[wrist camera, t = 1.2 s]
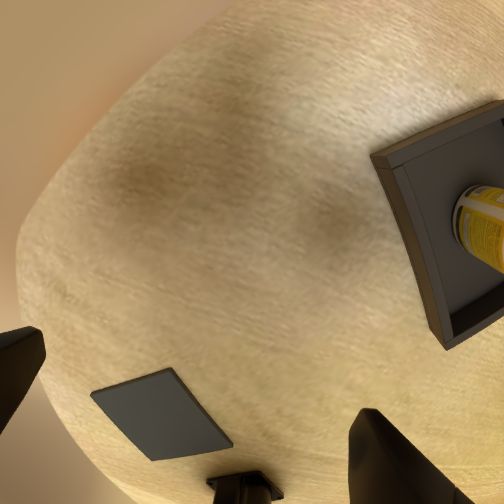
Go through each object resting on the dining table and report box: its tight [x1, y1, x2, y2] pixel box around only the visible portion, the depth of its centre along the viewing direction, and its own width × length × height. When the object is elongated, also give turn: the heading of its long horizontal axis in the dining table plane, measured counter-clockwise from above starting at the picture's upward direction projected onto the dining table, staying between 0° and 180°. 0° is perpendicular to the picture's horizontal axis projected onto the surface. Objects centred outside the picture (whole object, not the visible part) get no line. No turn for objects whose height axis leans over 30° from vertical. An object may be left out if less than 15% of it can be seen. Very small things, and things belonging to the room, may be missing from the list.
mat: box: [90, 368, 233, 461], centre depth 25 cm, size 10×10×1 cm
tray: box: [370, 99, 504, 351], centre depth 17 cm, size 14×12×3 cm
